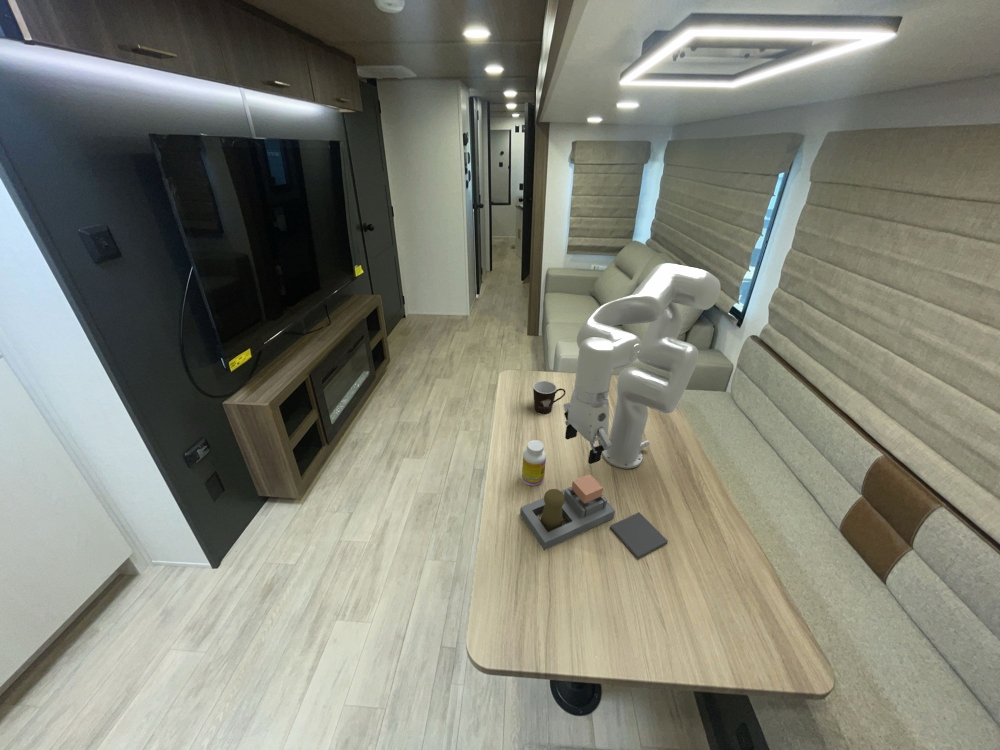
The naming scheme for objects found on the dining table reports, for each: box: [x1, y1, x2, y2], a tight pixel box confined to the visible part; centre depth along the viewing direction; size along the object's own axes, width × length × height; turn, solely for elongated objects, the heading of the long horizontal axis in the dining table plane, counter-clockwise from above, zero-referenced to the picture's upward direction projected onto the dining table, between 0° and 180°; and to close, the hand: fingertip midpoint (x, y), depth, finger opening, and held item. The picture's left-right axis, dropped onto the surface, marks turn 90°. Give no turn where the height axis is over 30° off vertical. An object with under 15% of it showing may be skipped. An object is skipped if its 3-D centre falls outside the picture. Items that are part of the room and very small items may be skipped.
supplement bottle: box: [521, 439, 547, 487], centre depth 114 cm, size 7×7×13 cm
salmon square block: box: [571, 473, 604, 504], centre depth 104 cm, size 6×6×3 cm
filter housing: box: [519, 486, 616, 551], centre depth 104 cm, size 22×12×6 cm, turn 117°
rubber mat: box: [609, 512, 669, 560], centre depth 101 cm, size 10×10×1 cm
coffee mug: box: [532, 380, 566, 415], centre depth 145 cm, size 12×9×10 cm
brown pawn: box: [539, 488, 565, 532], centre depth 101 cm, size 6×6×11 cm
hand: (581, 449), depth 97 cm, fingers open, 9 cm apart
